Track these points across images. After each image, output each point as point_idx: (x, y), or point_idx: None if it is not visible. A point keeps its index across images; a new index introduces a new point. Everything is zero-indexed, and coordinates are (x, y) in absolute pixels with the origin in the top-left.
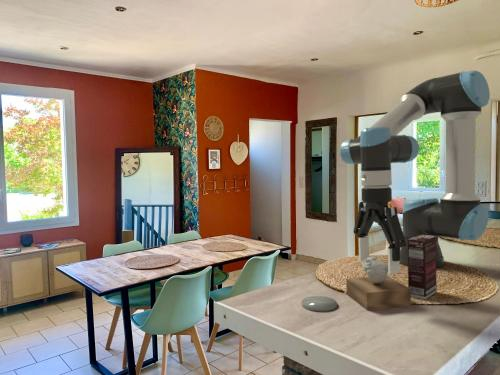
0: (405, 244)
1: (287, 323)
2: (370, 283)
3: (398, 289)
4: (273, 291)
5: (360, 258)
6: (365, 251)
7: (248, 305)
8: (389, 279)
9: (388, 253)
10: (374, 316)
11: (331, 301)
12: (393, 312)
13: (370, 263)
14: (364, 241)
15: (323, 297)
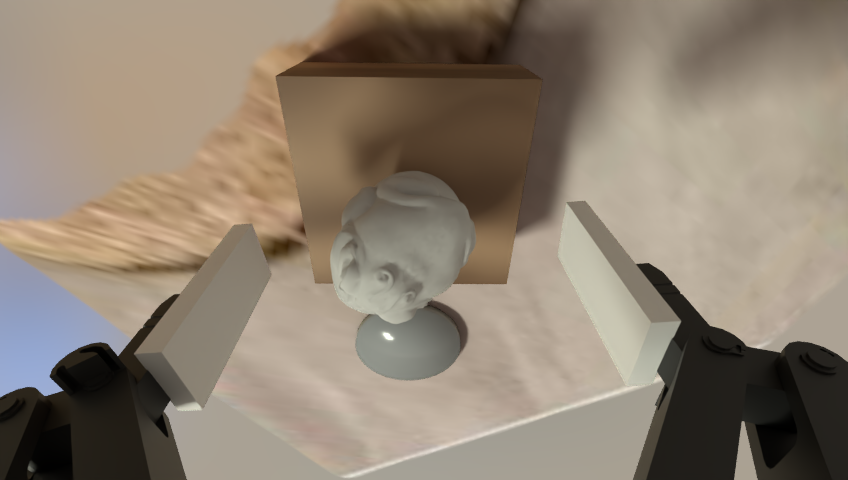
0: (839, 367)
1: (496, 413)
2: None
3: (524, 149)
4: (273, 400)
5: (265, 285)
6: (237, 286)
7: (370, 447)
8: (359, 101)
9: (611, 346)
10: (547, 246)
11: (414, 320)
12: (547, 175)
13: (427, 303)
14: (201, 352)
15: (372, 328)
